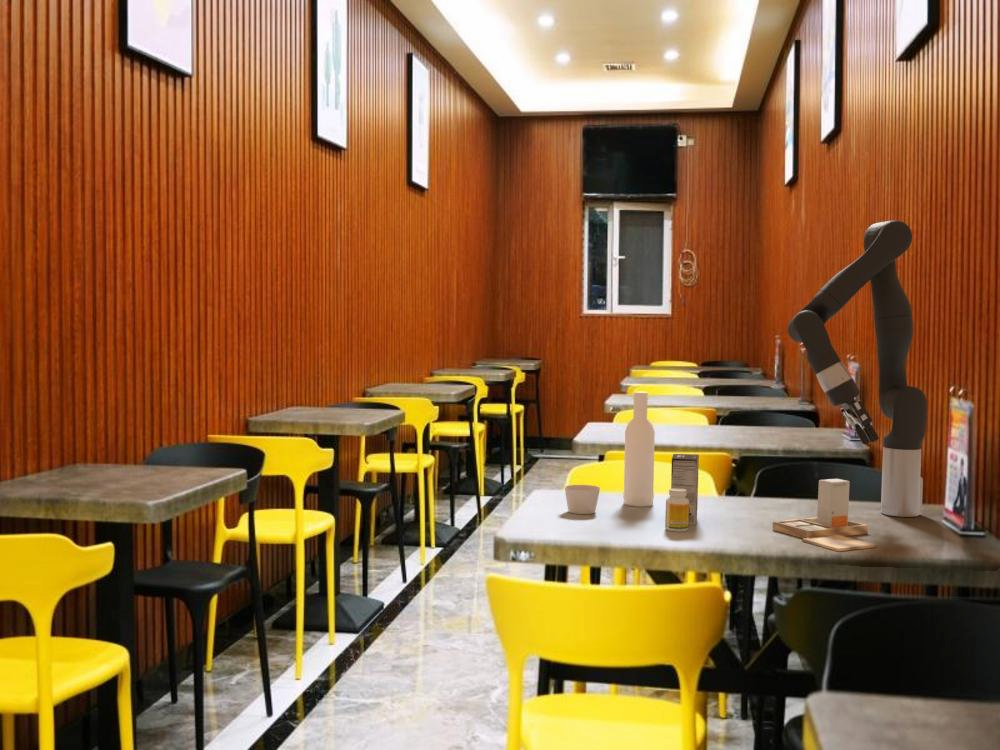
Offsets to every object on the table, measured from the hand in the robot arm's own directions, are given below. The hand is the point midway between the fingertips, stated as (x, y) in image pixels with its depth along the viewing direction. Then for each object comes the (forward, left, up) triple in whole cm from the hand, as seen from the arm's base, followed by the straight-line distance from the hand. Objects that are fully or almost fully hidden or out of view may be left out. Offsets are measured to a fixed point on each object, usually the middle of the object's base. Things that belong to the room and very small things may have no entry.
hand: (871, 441), depth 253 cm
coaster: (+26, +16, -20) cm, 36 cm away
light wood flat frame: (+20, +4, -20) cm, 28 cm away
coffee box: (+42, -19, -20) cm, 50 cm away
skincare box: (+16, +4, -20) cm, 26 cm away
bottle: (+39, -43, -20) cm, 61 cm away
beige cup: (+59, -39, -20) cm, 73 cm away
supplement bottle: (+50, -11, -20) cm, 55 cm away
